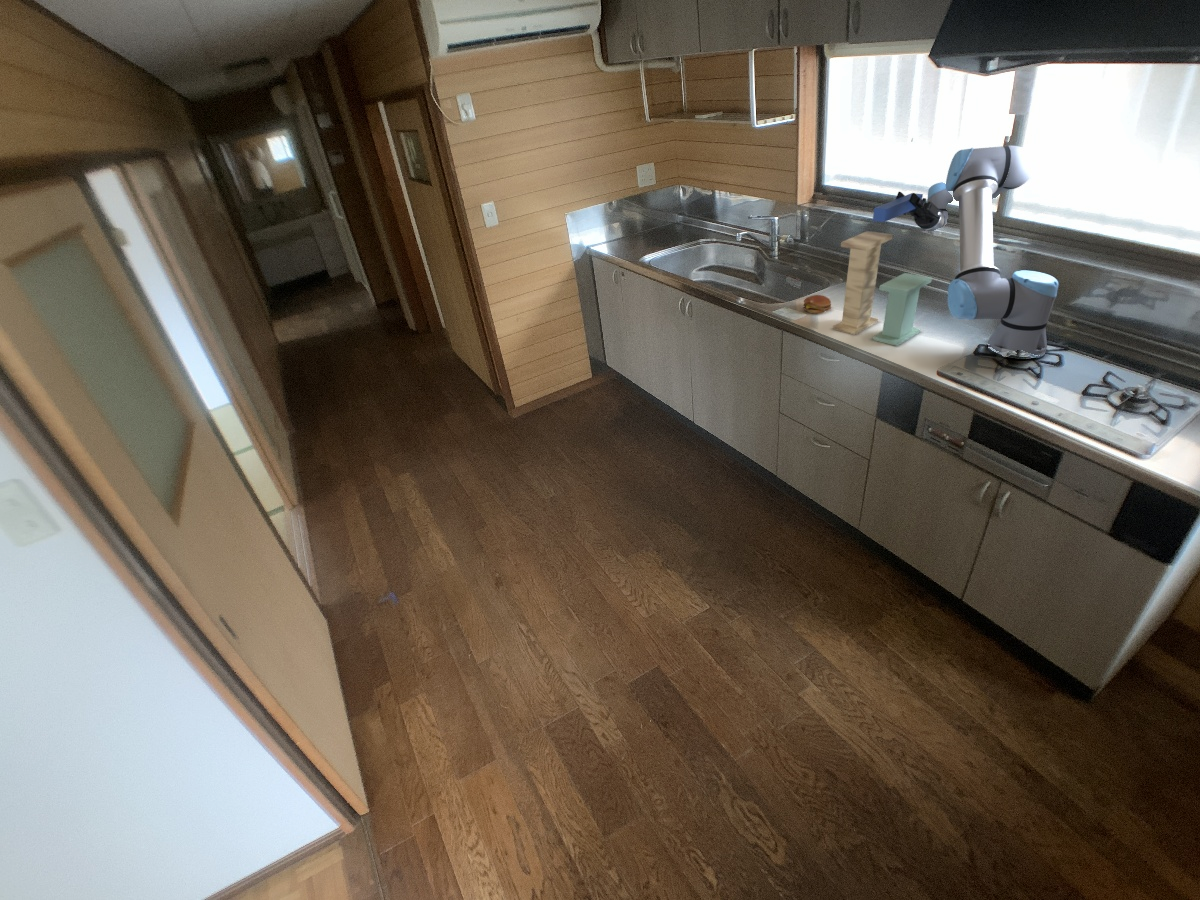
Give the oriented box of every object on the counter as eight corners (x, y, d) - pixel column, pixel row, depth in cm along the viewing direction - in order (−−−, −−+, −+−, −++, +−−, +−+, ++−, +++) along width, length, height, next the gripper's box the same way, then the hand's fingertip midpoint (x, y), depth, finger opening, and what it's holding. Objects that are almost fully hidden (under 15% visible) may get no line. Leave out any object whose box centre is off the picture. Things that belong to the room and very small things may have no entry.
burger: (832, 306, 230) (834, 294, 227) (827, 315, 223) (828, 302, 221) (806, 304, 234) (807, 292, 232) (799, 312, 228) (800, 300, 225)
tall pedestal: (855, 316, 220) (867, 231, 203) (879, 321, 214) (892, 234, 197) (831, 329, 212) (841, 242, 196) (854, 335, 206) (866, 246, 190)
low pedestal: (895, 325, 209) (904, 272, 199) (921, 332, 203) (932, 277, 193) (871, 340, 202) (879, 285, 192) (897, 346, 196) (907, 291, 186)
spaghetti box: (909, 205, 210) (911, 193, 207) (920, 206, 207) (923, 194, 205) (872, 220, 198) (874, 207, 196) (884, 222, 196) (886, 209, 193)
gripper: (948, 232, 213) (925, 210, 197) (901, 226, 225) (876, 205, 208) (958, 210, 211) (935, 186, 195) (910, 206, 223) (885, 183, 207)
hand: (904, 196), depth 202 cm, fingers closed on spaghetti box, 4 cm apart
